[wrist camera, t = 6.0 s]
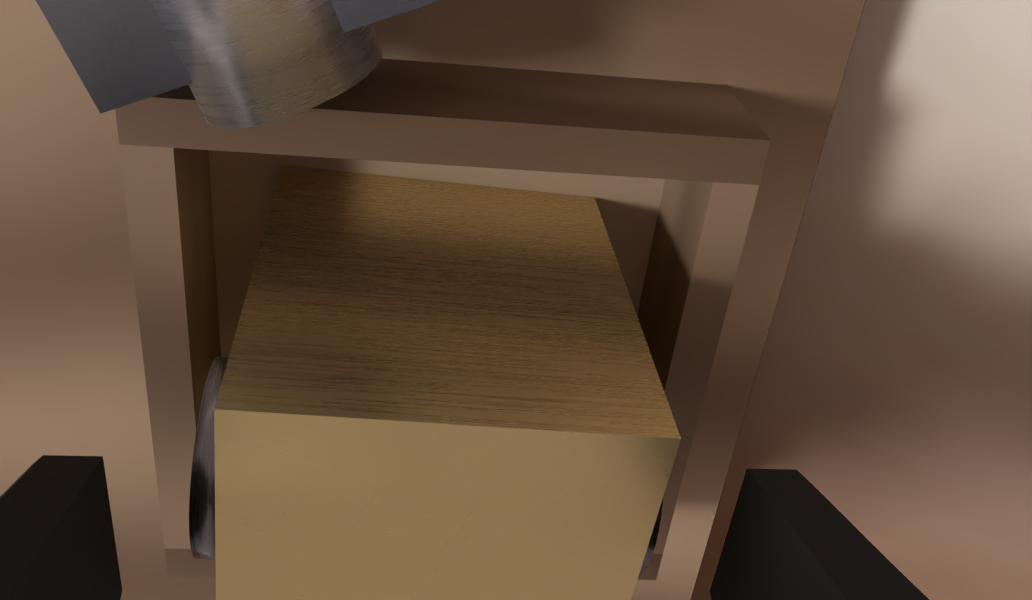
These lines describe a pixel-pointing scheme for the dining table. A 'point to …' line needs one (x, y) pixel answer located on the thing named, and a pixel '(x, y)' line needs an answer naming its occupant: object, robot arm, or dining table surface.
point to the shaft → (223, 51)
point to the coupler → (431, 402)
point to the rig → (419, 155)
